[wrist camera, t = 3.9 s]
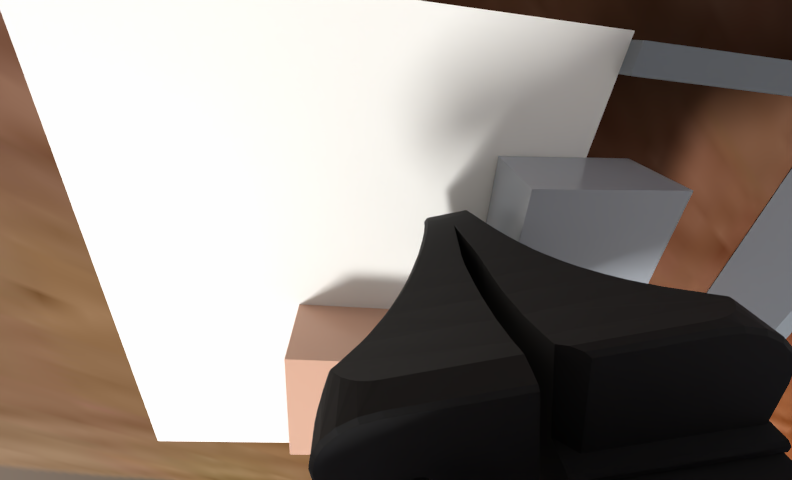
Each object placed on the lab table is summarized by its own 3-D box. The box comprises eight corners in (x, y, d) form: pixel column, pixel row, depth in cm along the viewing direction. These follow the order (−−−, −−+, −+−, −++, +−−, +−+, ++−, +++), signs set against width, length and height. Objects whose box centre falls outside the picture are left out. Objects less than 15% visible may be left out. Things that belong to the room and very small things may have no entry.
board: (584, 30, 11) (634, 30, 9) (465, 400, 20) (476, 444, 18) (62, -42, 10) (-27, -63, 8) (182, 393, 19) (158, 440, 16)
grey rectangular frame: (875, 77, 12) (1006, 90, 10) (644, 402, 21) (682, 454, 19) (582, 38, 11) (644, 39, 9) (466, 398, 20) (479, 452, 17)
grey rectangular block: (628, 158, 11) (693, 190, 9) (578, 290, 13) (619, 340, 11) (498, 156, 10) (532, 189, 8) (472, 291, 13) (493, 343, 11)
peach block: (409, 309, 13) (416, 363, 11) (394, 397, 16) (398, 455, 14) (299, 304, 13) (284, 359, 11) (301, 394, 15) (290, 454, 13)
